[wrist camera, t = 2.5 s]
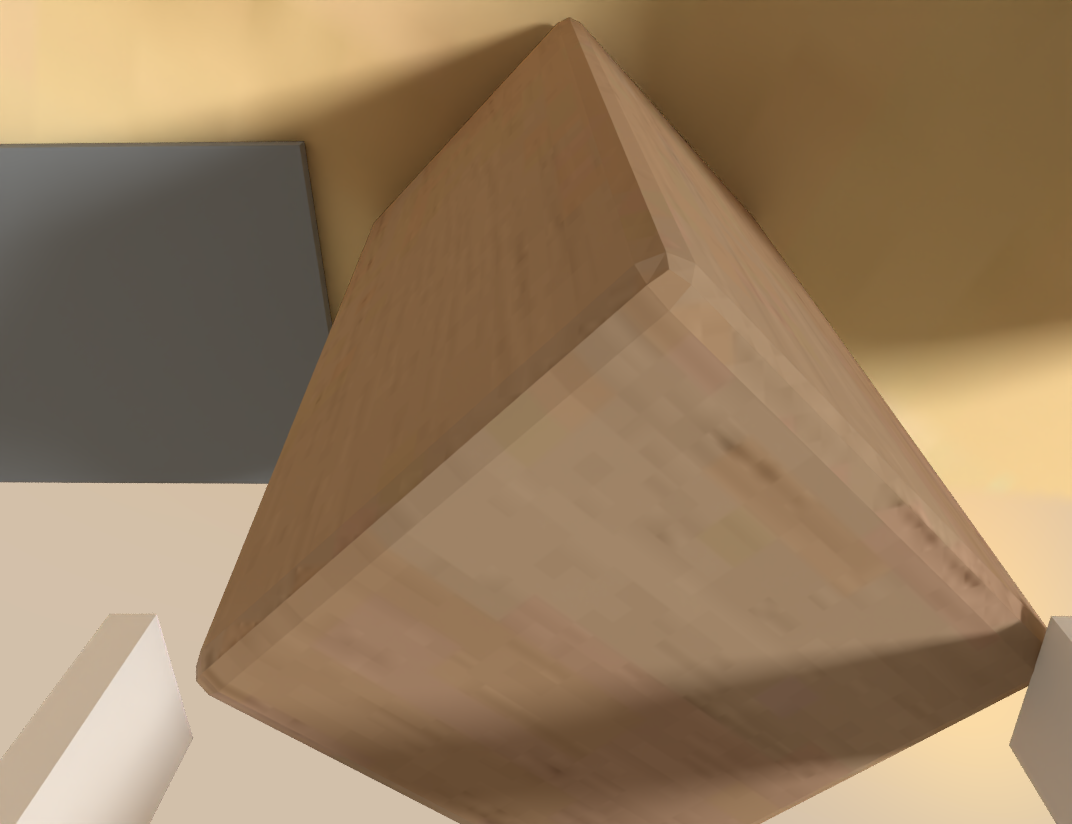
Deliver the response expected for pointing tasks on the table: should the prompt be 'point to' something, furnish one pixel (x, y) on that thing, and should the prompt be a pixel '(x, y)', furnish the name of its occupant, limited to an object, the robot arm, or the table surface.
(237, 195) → the mat
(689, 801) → the wooden block
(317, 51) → the table surface
